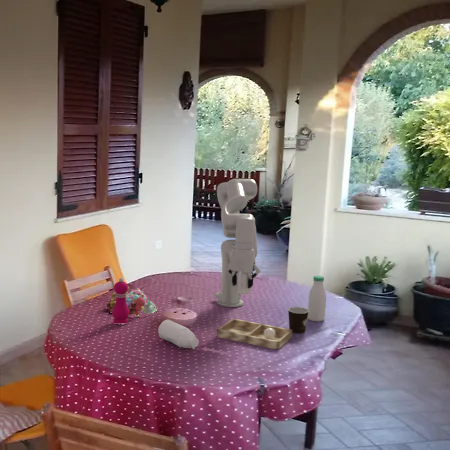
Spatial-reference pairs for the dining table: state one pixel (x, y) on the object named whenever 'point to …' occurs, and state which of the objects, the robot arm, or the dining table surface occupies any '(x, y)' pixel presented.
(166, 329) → the white plastic bottle
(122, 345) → the dining table surface
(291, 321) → the coffee mug
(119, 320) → the pepper mill
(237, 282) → the mug
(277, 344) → the caddy
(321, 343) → the dining table surface
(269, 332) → the stone egg
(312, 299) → the milk bottle
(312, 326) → the dining table surface
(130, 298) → the candy landscape model
